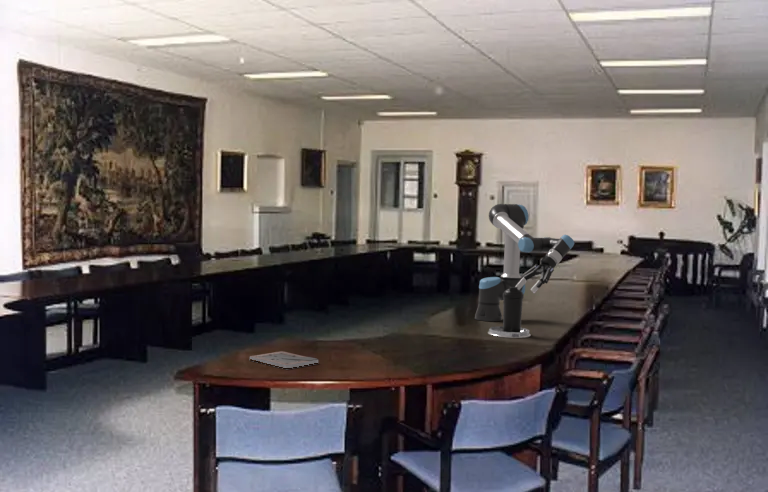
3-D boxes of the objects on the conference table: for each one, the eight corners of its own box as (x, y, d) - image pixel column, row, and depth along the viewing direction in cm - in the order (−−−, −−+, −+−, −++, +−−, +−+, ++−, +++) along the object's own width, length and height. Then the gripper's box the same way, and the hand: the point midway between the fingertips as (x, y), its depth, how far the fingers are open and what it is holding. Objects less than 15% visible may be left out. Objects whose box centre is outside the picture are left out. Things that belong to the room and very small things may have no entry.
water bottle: (521, 332, 398) (523, 286, 397) (522, 335, 388) (524, 288, 387) (501, 331, 400) (502, 285, 398) (501, 334, 389) (503, 287, 388)
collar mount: (482, 330, 402) (482, 325, 402) (522, 330, 405) (522, 326, 405) (495, 337, 381) (495, 332, 381) (536, 338, 385) (536, 332, 384)
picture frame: (318, 365, 308) (281, 356, 323) (318, 358, 308) (281, 350, 322) (286, 371, 296) (249, 362, 310) (286, 364, 296) (249, 355, 310)
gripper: (532, 252, 411) (506, 282, 406) (561, 256, 388) (534, 287, 383) (540, 263, 413) (515, 292, 408) (570, 267, 391) (543, 298, 385)
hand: (524, 290), depth 396 cm, fingers open, 13 cm apart
